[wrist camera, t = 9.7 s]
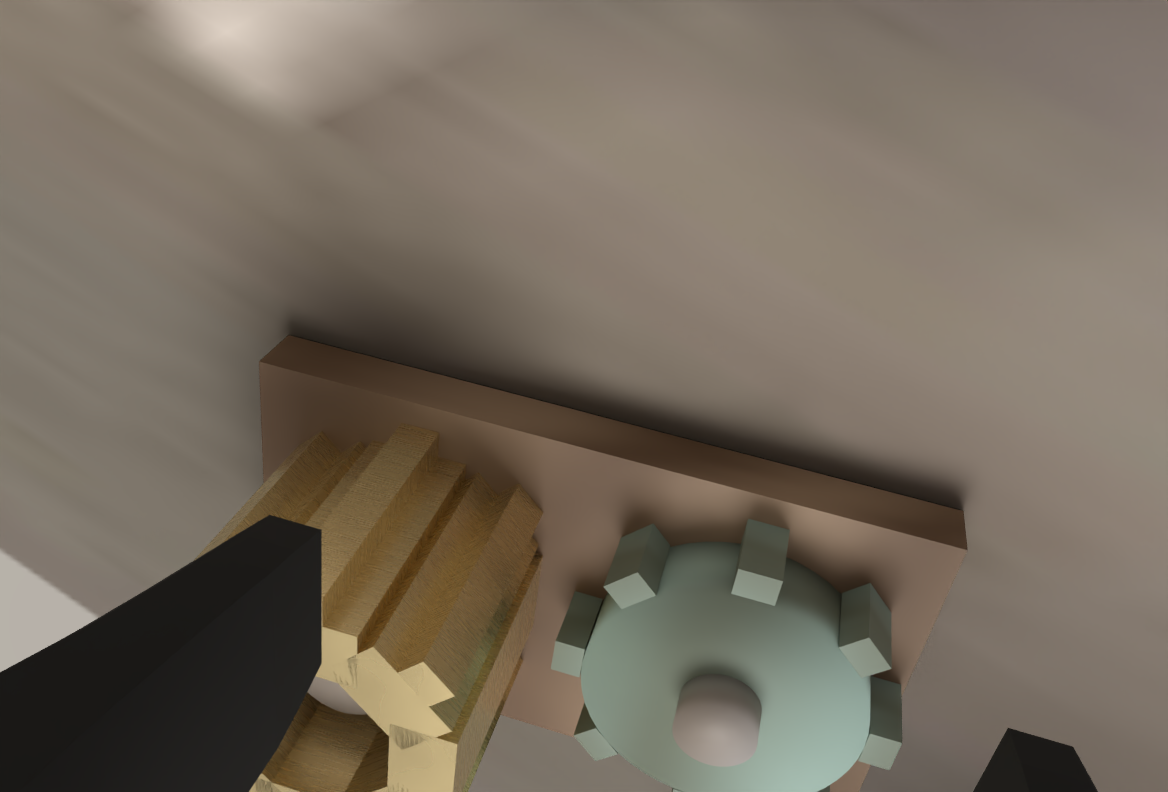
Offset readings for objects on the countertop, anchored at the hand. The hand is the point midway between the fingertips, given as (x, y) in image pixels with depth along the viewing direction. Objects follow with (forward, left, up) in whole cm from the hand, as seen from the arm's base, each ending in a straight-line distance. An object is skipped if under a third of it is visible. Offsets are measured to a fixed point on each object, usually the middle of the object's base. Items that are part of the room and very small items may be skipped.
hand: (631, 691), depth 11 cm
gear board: (+2, +7, -9) cm, 12 cm away
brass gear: (+6, +7, -8) cm, 12 cm away
